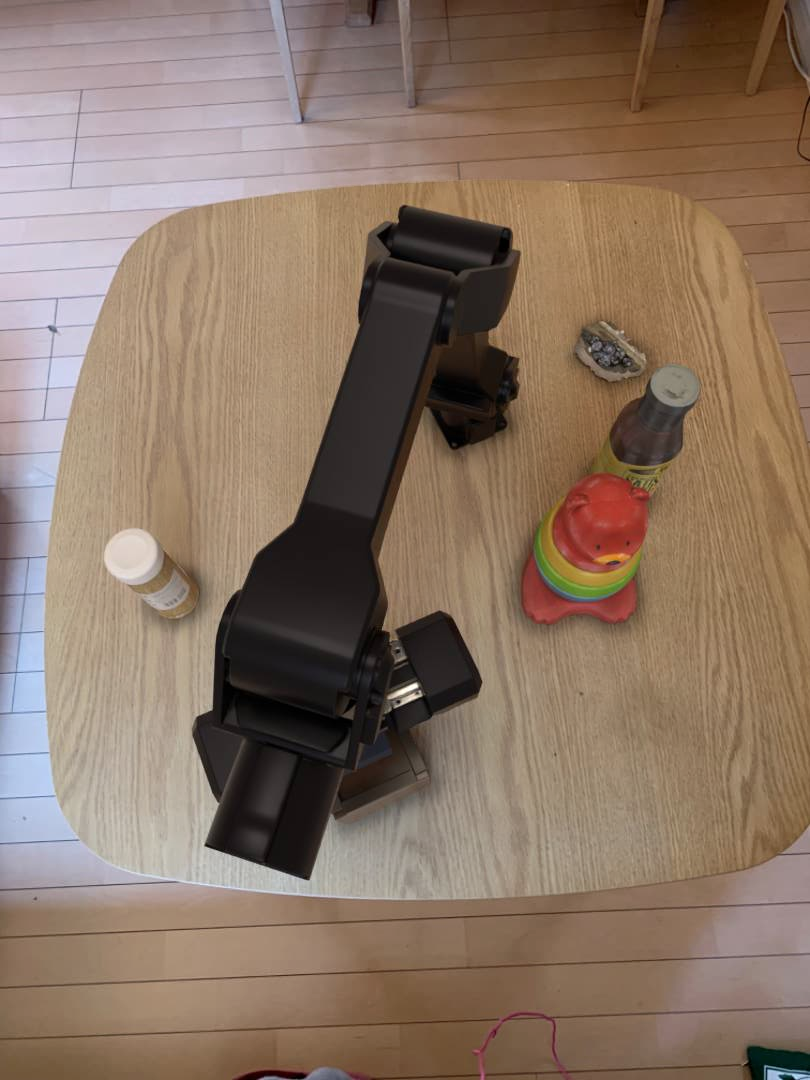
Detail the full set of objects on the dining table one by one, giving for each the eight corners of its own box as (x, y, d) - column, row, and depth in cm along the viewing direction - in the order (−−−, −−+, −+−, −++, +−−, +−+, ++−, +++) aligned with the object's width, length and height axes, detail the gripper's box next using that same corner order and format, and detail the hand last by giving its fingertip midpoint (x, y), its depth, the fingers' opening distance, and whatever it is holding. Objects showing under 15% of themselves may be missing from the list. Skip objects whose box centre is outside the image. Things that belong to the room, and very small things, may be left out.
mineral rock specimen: (588, 315, 92) (591, 305, 90) (658, 343, 90) (663, 333, 88) (563, 364, 90) (566, 355, 88) (635, 393, 88) (639, 384, 86)
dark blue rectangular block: (307, 699, 66) (301, 692, 63) (360, 675, 67) (357, 667, 64) (338, 778, 64) (334, 774, 61) (393, 753, 64) (392, 748, 62)
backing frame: (305, 719, 78) (285, 699, 67) (384, 683, 79) (377, 658, 68) (347, 824, 74) (333, 820, 64) (430, 785, 75) (429, 775, 65)
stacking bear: (522, 625, 80) (546, 566, 63) (516, 525, 84) (537, 444, 67) (637, 624, 80) (691, 564, 63) (627, 523, 83) (675, 441, 67)
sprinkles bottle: (190, 567, 83) (146, 517, 71) (206, 608, 82) (165, 563, 69) (146, 587, 83) (94, 540, 70) (162, 628, 81) (112, 587, 68)
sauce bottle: (606, 530, 83) (657, 437, 65) (573, 478, 85) (613, 374, 66) (663, 500, 84) (729, 401, 65) (629, 450, 86) (683, 340, 67)
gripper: (415, 508, 53) (418, 584, 68) (133, 627, 51) (198, 679, 66) (493, 667, 50) (478, 712, 64) (193, 803, 47) (248, 817, 62)
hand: (349, 725), depth 64 cm, fingers closed on dark blue rectangular block, 4 cm apart
